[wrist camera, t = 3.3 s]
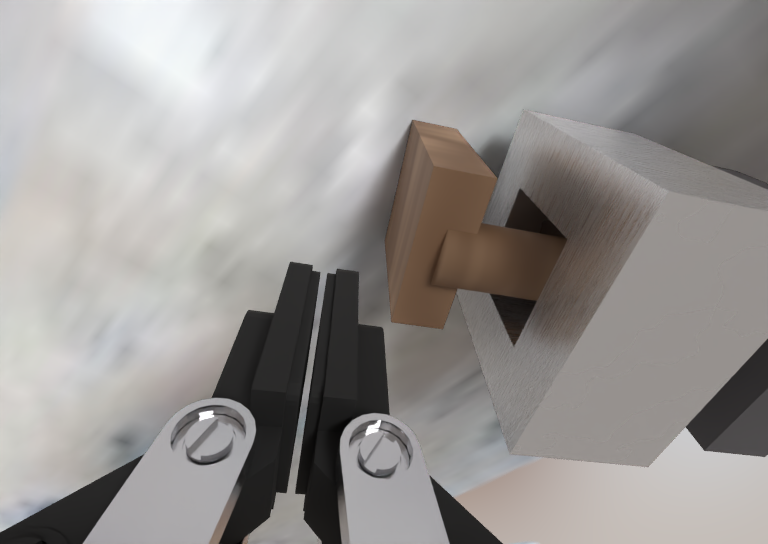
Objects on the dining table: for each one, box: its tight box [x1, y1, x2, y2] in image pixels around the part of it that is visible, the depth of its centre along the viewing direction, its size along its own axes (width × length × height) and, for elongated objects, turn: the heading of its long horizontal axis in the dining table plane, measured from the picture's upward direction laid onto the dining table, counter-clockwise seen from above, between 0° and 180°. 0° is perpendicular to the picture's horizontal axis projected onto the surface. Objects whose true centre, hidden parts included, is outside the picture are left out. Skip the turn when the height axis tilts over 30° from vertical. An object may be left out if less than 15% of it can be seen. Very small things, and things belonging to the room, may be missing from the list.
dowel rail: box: [385, 120, 568, 329], centre depth 18 cm, size 29×6×7 cm, turn 79°
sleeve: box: [457, 109, 768, 467], centre depth 15 cm, size 5×9×9 cm, turn 168°
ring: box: [686, 165, 768, 457], centre depth 15 cm, size 2×8×8 cm, turn 168°
